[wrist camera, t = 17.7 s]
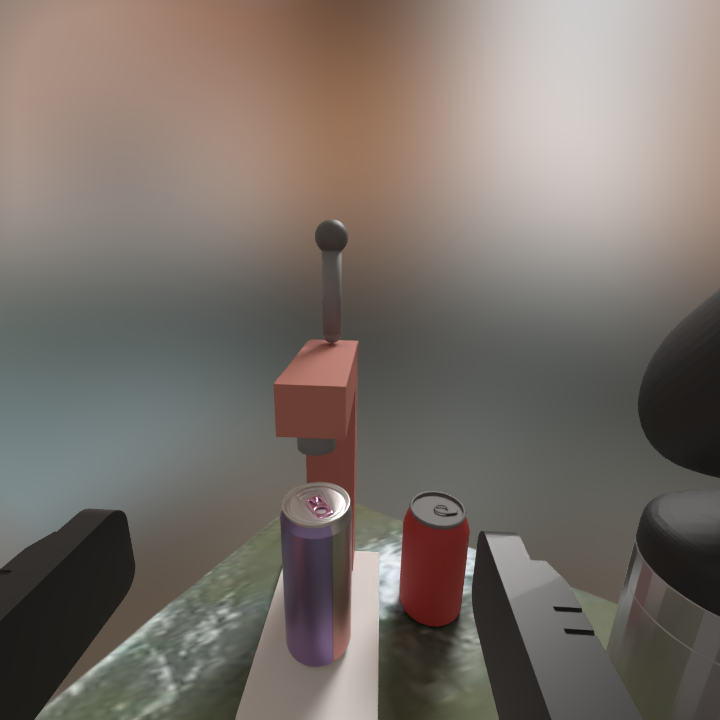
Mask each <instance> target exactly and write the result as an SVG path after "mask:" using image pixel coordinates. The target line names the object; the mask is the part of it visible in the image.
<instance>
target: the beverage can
mask: <svg viewBox="0 0 720 720" xmlns="http://www.w3.org/2000/svg"><path fill="white" fill-rule="evenodd" d="M352 513H353V512H352V508H351V505H350V498H349V495H348V494H347V492H346V491H345V490H344V489H343V488H341V487H339V486H337V485H335V484H332V483H327V482H311V483H306V484H303V485H300V486H297V487H295V488H294V489H292V490H291V491H290V492H289V493H287V495H286V496H285V498H284V500H283V502H282V511H281V514H280V525H281V546H282V567H283V587H284V608H285V629H286V644H287V647H288V650H289V652H290V654H291V655H292V656H293V657H294V658H295V659H296V660H297V661H298V662H300V663H301V664H303V665H305V666H308V667H312V668H320V667H324V666H327V665H330V664H332V663H333V662H335V661H336V660H337V659H338V658H339V657H340V656H341V655H342V654H343V653H344V652H345V650H346V649H347V647H348V644H349V642H350V637H351V585H352Z"/></svg>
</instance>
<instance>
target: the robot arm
mask: <svg viewBox="0 0 720 720" xmlns="http://www.w3.org/2000/svg"><path fill="white" fill-rule="evenodd" d="M638 413H639V418H640V423H641V427H642V429H643V431H644V433H645V436H646V438H647V439H648V440H649V442H650V443H651V445H652V446H653V447H654V448H655V449H656V450H657V451H658V452H659V453H660V454H661V455H662V456H663V457H665V458H666V459H668V460H670V461H671V462H673V463H675V464H677V465H679V466H682V467H684V468H687V469H690V470H693V471H696V472H699V473H702V474H706V475H709V476H714V477H718V478H720V289H719V290H717V291H716V292H715V293H714V294H712V295H711V296H710V297H709V298H708V299H706V300H705V301H704V302H703V303H702V304H700V305H699V306H698V307H697V308H696V309H695V310H693V311H692V312H691V313H690V314H689V315H688V316H686V317H685V318H684V319H683V320H682V321H681V322H680V323H679V324H678V325H677V326H676V327H675V328H674V329H673V330H672V331H671V332H670V333H669V334H668V336H667V337H666V338H665V339H664V341H663V342H662V343H661V345H660V346H659V348H658V349H657V350H656V352H655V353H654V355H653V357H652V359H651V361H650V362H649V364H648V367H647V369H646V372H645V374H644V376H643V380H642V383H641V387H640V391H639V397H638ZM134 574H135V561H134V555H133V550H132V544H131V538H130V533H129V527H128V522H127V517H126V515H125V513H124V512H122V511H120V510H104V509H85V510H82V511H81V512H79V513H78V514H77V515H76V516H75V517H73V518H72V519H71V520H70V521H69V522H68V523H66V524H65V525H64V526H63V527H62V528H61V529H60V530H58V531H57V532H53V533H52V534H50V535H48V536H46V537H45V538H43V539H41V540H39V541H38V542H36V543H34V544H32V545H31V546H29V547H27V548H25V549H24V550H23V551H22V552H20V553H19V554H18V555H17V556H16V557H14V558H13V559H12V560H11V561H10V562H9V563H7V564H6V565H5V566H4V567H3V568H1V569H0V720H34V719H35V718H36V717H37V715H38V714H39V713H40V711H41V710H42V709H43V707H44V706H45V705H46V703H47V702H48V700H49V699H50V698H51V696H52V695H53V694H54V692H55V691H56V690H57V688H58V687H59V685H60V684H61V683H62V682H63V680H64V679H65V677H66V676H67V675H68V673H69V672H70V671H71V669H72V668H73V667H74V665H75V664H76V663H77V661H78V660H79V658H80V657H81V656H82V654H83V653H84V652H85V650H86V649H87V648H88V646H89V645H90V643H91V642H92V641H93V640H94V638H95V637H96V636H97V634H98V633H99V631H100V630H101V629H102V627H103V626H104V625H105V623H106V622H107V621H108V619H109V618H110V617H111V615H112V614H113V612H114V611H115V610H116V608H117V607H118V606H119V604H120V603H121V602H122V600H123V599H124V597H125V596H126V595H127V593H128V591H129V589H130V587H131V584H132V582H133V578H134ZM472 605H473V613H474V619H475V623H476V627H477V631H478V635H479V639H480V643H481V647H482V651H483V656H484V660H485V664H486V668H487V672H488V676H489V680H490V684H491V688H492V692H493V696H494V700H495V704H496V708H497V712H498V716H499V720H720V487H714V488H708V489H698V490H687V491H677V492H671V493H667V494H663V495H660V496H658V497H656V498H654V499H653V500H652V501H650V502H649V503H648V504H647V506H646V507H645V508H644V510H643V513H642V516H641V518H640V522H639V526H638V530H637V534H636V538H635V542H634V546H633V550H632V553H631V557H630V561H629V565H628V570H627V573H626V577H625V581H624V585H623V588H622V592H621V596H620V600H619V603H618V607H617V611H616V615H615V619H614V622H613V626H612V630H611V634H610V638H609V642H608V645H607V649H606V651H605V650H604V648H603V646H602V644H601V642H600V641H599V639H598V637H597V636H595V635H594V630H593V628H592V626H591V624H590V622H589V621H588V619H587V617H586V615H585V613H582V608H581V606H580V604H579V603H578V601H577V599H576V597H575V595H574V593H573V592H572V590H571V588H570V586H569V584H568V583H567V582H566V581H565V580H564V579H563V578H562V577H561V576H560V575H559V574H558V573H557V572H556V571H555V570H554V569H553V568H552V567H551V566H550V565H549V564H548V563H547V562H546V561H536V560H531V559H530V557H529V555H528V553H527V551H526V549H525V547H524V545H523V542H522V541H521V538H520V537H519V535H518V534H517V533H509V532H491V531H490V532H489V531H481V532H480V533H479V537H478V543H477V551H476V559H475V567H474V575H473V583H472Z"/></svg>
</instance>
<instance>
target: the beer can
mask: <svg viewBox="0 0 720 720" xmlns="http://www.w3.org/2000/svg"><path fill="white" fill-rule="evenodd" d="M469 533H470V531H469V525H468V521H467V518H466V509H465V506H464V505H463V504H462V503H461V502H460V501H459V500H458V499H456V498H455V497H454V496H451V495H449V494H447V493H443V492H439V491H427V492H422V493H420V494H418V495H416V496H414V497H413V498H412V499H411V502H410V507H409V508H408V510H407V513H406V515H405V518H404V521H403V539H402V556H401V573H400V591H399V592H400V601H401V603H402V606H403V608H404V610H405V611H406V612H407V613H408V614H409V616H410V617H412V618H413V619H414V620H416V621H417V622H419V623H421V624H424V625H427V626H436V627H439V626H443V625H447V624H449V623H450V622H452V621H453V620H455V619H456V617H457V616H458V614H459V613H460V610H461V603H462V594H463V586H464V577H465V568H466V560H467V551H468V542H469Z"/></svg>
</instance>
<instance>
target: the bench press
mask: <svg viewBox="0 0 720 720" xmlns="http://www.w3.org/2000/svg"><path fill="white" fill-rule="evenodd" d="M315 241H316V244H317V246H318V247H319V248H320V249H321V250H322V320H323V321H322V326H323V327H322V328H323V338H324V339H325V340H309V341H308V342H307V343H306V344H305V346H304V347H303V348H302V349H301V351H300V352H299V353H298V354H297V356H296V357H295V358H294V359H293V361H292V362H291V363H290V364H289V366H288V367H287V368H286V369H285V371H284V372H283V373H282V374H281V376H280V377H279V378H278V379H277V380H276V382H275V383H274V402H275V422H276V436H277V437H297V443H298V450H299V451H300V452H301V453H303V454H306V466H307V483H311V482H327V483H332V484H335V485H337V486H339V487H341V488H343V489H344V490H345V491H346V492H347V494H348V495H349V498H350V505H351V508H352V512H353V513H352V585H351V637H350V642H349V644H348V647H347V649H346V650H345V652H344V653H343V654H342V655H341V656H340V657H339V658H338V659H337V660H336V661H335V662H333V663H332V664H330V665H327V666H324V667H320V668H312V667H308V666H305V665H303V664H301V663H300V662H298V661H297V660H296V659H295V658H294V657H293V656H292V655H291V654H290V652H289V650H288V647H287V644H286V629H285V608H284V587H283V568H282V571H281V574H280V577H279V581H278V584H277V587H276V590H275V593H274V597H273V600H272V603H271V606H270V609H269V612H268V616H267V619H266V622H265V625H264V628H263V632H262V635H261V638H260V641H259V644H258V648H257V651H256V654H255V657H254V660H253V664H252V667H251V670H250V673H249V676H248V679H247V683H246V686H245V689H244V692H243V695H242V699H241V702H240V705H239V708H238V711H237V715H236V718H235V720H378V648H379V554H380V552H363V551H355V498H356V437H357V379H358V378H357V377H358V341H341V340H339V339H340V336H341V251H342V250H343V249H344V248H345V246H346V244H347V241H348V233H347V230H346V228H345V227H344V225H343V224H342V223H340V222H339V221H337V220H326V221H323V222H322V223H321V224H320V225H319V226H318V227H317V229H316V232H315Z"/></svg>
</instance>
